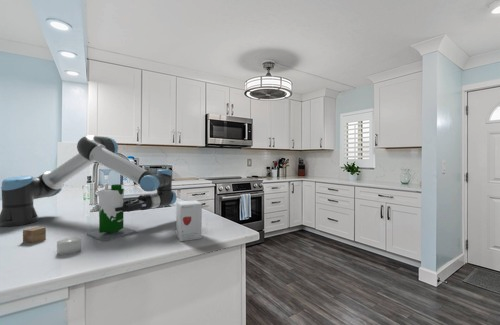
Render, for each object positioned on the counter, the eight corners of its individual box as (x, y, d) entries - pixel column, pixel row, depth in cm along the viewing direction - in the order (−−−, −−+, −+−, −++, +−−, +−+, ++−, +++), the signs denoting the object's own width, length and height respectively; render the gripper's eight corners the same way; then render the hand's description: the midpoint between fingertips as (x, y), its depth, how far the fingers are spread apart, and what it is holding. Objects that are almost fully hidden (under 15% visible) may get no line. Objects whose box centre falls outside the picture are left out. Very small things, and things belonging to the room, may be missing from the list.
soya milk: (117, 233, 105) (117, 186, 104) (95, 233, 104) (95, 186, 104) (126, 227, 114) (126, 183, 113) (106, 227, 113) (105, 183, 113)
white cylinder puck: (53, 252, 88) (53, 241, 88) (75, 246, 94) (75, 236, 94) (62, 256, 84) (61, 245, 84) (84, 250, 90) (84, 239, 90)
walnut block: (22, 242, 98) (22, 229, 98) (36, 238, 103) (36, 226, 103) (32, 243, 97) (32, 230, 97) (45, 239, 102) (45, 227, 101)
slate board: (87, 235, 107) (87, 233, 107) (119, 227, 119) (119, 225, 119) (103, 241, 99) (103, 239, 99) (136, 232, 111) (136, 230, 111)
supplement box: (180, 242, 99) (180, 205, 99) (175, 235, 107) (175, 201, 107) (202, 238, 104) (202, 203, 103) (196, 232, 112) (196, 199, 111)
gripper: (162, 211, 118) (114, 222, 99) (135, 206, 130) (88, 214, 111) (161, 196, 118) (114, 203, 99) (135, 192, 129) (88, 198, 110)
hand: (100, 209), depth 105 cm, fingers closed on soya milk, 8 cm apart
